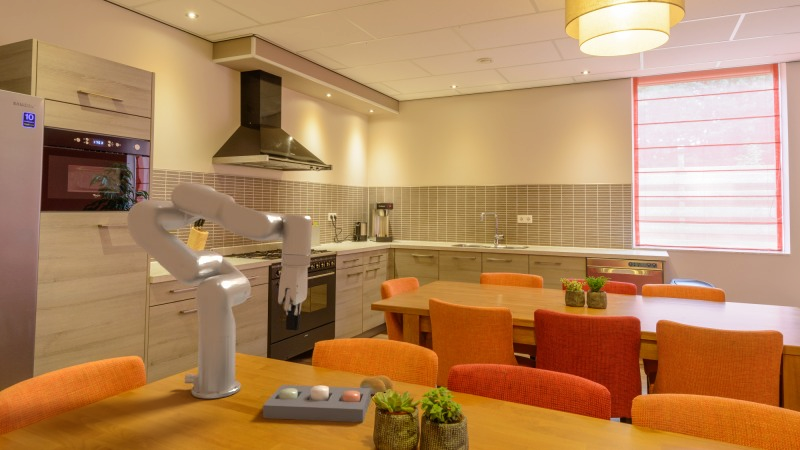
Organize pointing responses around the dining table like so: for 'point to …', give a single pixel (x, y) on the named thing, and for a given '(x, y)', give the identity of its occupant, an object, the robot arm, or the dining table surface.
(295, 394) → the sage button
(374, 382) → the bread roll
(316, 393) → the white button
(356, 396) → the terracotta button
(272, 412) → the button panel
